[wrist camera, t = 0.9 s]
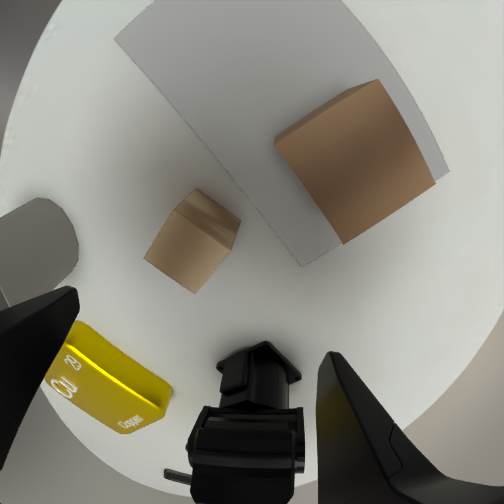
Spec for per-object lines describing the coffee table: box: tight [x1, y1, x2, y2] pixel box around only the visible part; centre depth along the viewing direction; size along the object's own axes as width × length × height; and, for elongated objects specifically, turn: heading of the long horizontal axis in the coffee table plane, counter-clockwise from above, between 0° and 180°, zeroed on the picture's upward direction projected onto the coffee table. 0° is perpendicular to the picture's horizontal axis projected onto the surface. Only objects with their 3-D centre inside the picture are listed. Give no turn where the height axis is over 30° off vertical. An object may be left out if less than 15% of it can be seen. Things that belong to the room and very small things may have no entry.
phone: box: [164, 469, 192, 485], centre depth 49 cm, size 8×1×15 cm
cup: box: [0, 198, 79, 311], centre depth 19 cm, size 8×8×10 cm
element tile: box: [44, 321, 173, 434], centre depth 30 cm, size 15×15×5 cm
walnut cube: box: [274, 79, 436, 245], centre depth 15 cm, size 6×6×6 cm
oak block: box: [144, 188, 241, 294], centre depth 19 cm, size 4×4×5 cm
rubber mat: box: [114, 0, 449, 267], centre depth 16 cm, size 23×14×1 cm, turn 37°
